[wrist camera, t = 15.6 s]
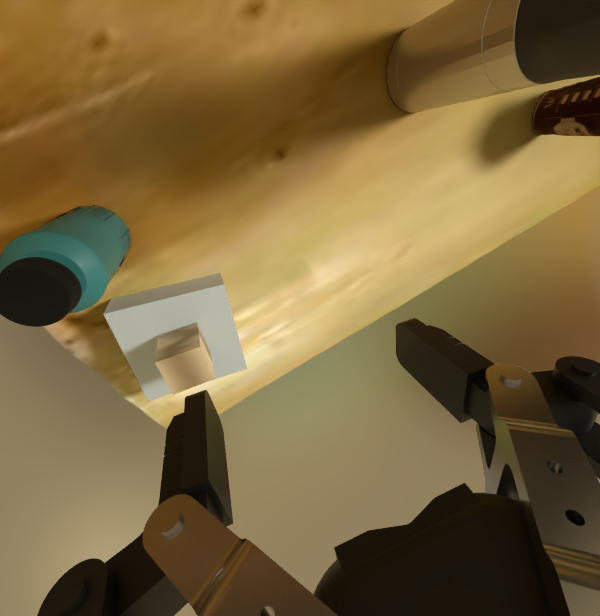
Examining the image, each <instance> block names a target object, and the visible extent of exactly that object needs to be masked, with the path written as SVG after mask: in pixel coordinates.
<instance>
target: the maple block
mask: <svg viewBox="0 0 600 616" xmlns="http://www.w3.org/2000/svg"><path fill="white" fill-rule="evenodd" d="M155 364H156V366H157V367H158V369H159V371H160V373H161V374H162V376H163V378H164V380H165V381H166V383H167V385H168V387H169V388H170V390H171V392H172V394H173V395H174V394H176V393H179V392H181V391H184V390H187V389H189V388H192V387H194V386H197V385H200V384H202V383H205V382H207V381H210V380H213V379H215V376H214V371H213V365H212V359H211V353H210V350H209V348H208V345H207V343H206V341H205V338H204V336H203V334H202V331H201V329H200V327H199V325H198V322H196V323H193V324H190V325H187V326H184V327H181V328H178V329H175V330H172V331H169V332H166V333H163V334H160V335H158V339H157V348H156V357H155Z"/></svg>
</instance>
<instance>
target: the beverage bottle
mask: <svg viewBox="0 0 600 616" xmlns="http://www.w3.org/2000/svg"><path fill="white" fill-rule="evenodd" d="M73 210H74V211H73ZM69 211H70V210H69ZM71 211H72V212H70V213H68V212H66V213H64V214H62V215H60V216H61V217H60V216H58V217H59V218H58V217H57V216H56V217H57V219H55V217H54V218H53V219H55V220H52V221H51V222H49V223H47V224H45V223H46V222H45V223H44V224H45V225H44V224H43V225H42V227H40V228H38V229H36V230H34V231H32V232H30V233H26V234H23V235H21V236H19V237H17V238H15V239H14V240H12V241H11V242H10V243H9V244H8V245H7V246H6V247H5V248H4V250H3V252H2V254H1V257H0V314H1V315H2V316H4V317H5V318H7V319H9V320H11V321H13V322H15V323H18V324H21V325H26V326H46V325H50V324H53V323H56V322H58V321H60V320H61V319H63V318H64V317H65V316H66V315H67V314H68V313H74V312H79V311H82V310H85V309H87V308H89V307H91V306H92V305H94V304H95V303H96V302H97V301H99V299H100V298H101V297H102V296H103V294H104V292H105V290H106V287H107V285H108V283H109V282H110V281H111V278H112V277H113V275H114V274H115V272H116V271H117V269H118V267H119V265H120V268H121V264H122V262H123V260H124V259H123V258H125V257H124V256H126V255H125V254H126V252H127V251H128V249H129V246H130V245H131V244H132V243H131V244H130V241H131V240H130V236H131V235H130V233H129V229H128V228H127V226H126V224H125V223H124V222H123V221H122V219H121V218H119V217H118V216H117V215H116V214H115V213H113V212H111V211H109V210H107V209H104V208H102V207H95V205H94V206H87V205H86V207H83V206H81V208H80V207H78V208H75V209H72V210H71ZM67 213H68V214H67ZM65 214H66V215H65ZM39 226H40V225H39ZM131 238H132V237H131ZM130 247H131V246H130ZM117 272H118V271H117ZM117 272H116V273H117Z"/></svg>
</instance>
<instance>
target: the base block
mask: <svg viewBox="0 0 600 616" xmlns="http://www.w3.org/2000/svg"><path fill="white" fill-rule="evenodd" d="M103 315H104V317H105V318H106V320H107V322H108V324H109V326H110V328H111V330H112V332H113V334H114V336H115V338H116V340H117V342H118V344H119V346H120V348H121V349H122V351H123V353H124V355H125V357H126V359H127V361H128V363H129V365H130V367H131V369H132V371H133V373H134V375H135V377H136V379H137V380H138V382H139V384H140V386H141V388H142V390H143V392H144V394H145V396H146V398H147V400H148V401H150V400H153V399H156V398H159V397H162V396H165V395H168V394H171V393H172V392H171V390H170V388H169V387H168V385H167V383H166V381H165V380H164V378H163V376H162V374H161V373H160V371H159V369H158V367H157V366H156V364H155V357H156V348H157V339H158V335H160V334H163V333H166V332H169V331H172V330H175V329H178V328H181V327H184V326H187V325H190V324H193V323H196V322H198V325H199V327H200V329H201V331H202V334H203V336H204V338H205V341H206V343H207V345H208V348H209V350H210V353H211V359H212V365H213V371H214V376H215V379H217V378H220V377H223V376H226V375H229V374H232V373H235V372H238V371H241V370H244V369H247V367H246V363H245V360H244V356H243V352H242V348H241V345H240V341H239V337H238V333H237V330H236V326H235V322H234V319H233V315H232V311H231V307H230V304H229V300H228V296H227V292H226V289H225V285H224V282H223V279H222V277H221V274H220V273H218V274H214V275H210V276H206V277H201V278H197V279H193V280H189V281H185V282H180V283H176V284H172V285H168V286H163V287H159V288H155V289H151V290H146V291H142V292H138V293H134V294H129V295H125V296H121V297H117V298H113V299H111V300H110V302H109V304H108V306H107V308H106V310H105V312H104V314H103ZM213 380H214V379H213ZM210 381H211V380H210ZM207 382H208V381H207Z"/></svg>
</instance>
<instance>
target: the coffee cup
mask: <svg viewBox="0 0 600 616" xmlns="http://www.w3.org/2000/svg"><path fill="white" fill-rule="evenodd" d="M533 128H534V130H535V132H536V133H538V134H540V135H549V134H556V135H562V136H600V77H598V78H594V79H590V80H587V81H584V82H579V83H576V84H573V85H570V86H565V87H562V88H560V89H557V90H549V91H548V92H546V93H545V94H544V95H543V96H542V98H541V99H540V101H539V102H538V104H537V106H536V108H535V111H534V115H533Z"/></svg>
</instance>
